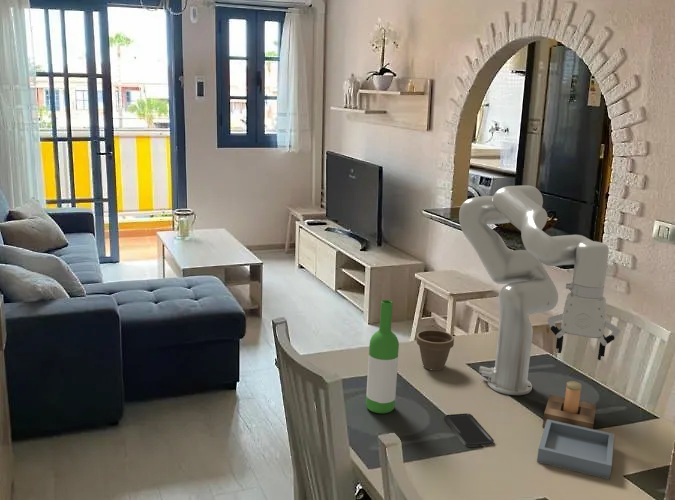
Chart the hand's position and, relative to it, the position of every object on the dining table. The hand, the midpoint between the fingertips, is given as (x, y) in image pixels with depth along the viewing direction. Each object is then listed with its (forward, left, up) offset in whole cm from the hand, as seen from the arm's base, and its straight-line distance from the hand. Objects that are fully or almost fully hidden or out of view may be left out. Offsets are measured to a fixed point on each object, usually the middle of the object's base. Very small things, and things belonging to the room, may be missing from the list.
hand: (579, 354), depth 176 cm
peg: (0, 0, -19) cm, 19 cm away
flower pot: (-42, +18, -20) cm, 50 cm away
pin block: (0, 0, -19) cm, 19 cm away
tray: (+3, -16, -19) cm, 25 cm away
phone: (-23, -17, -20) cm, 35 cm away
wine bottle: (-47, -16, -20) cm, 53 cm away
